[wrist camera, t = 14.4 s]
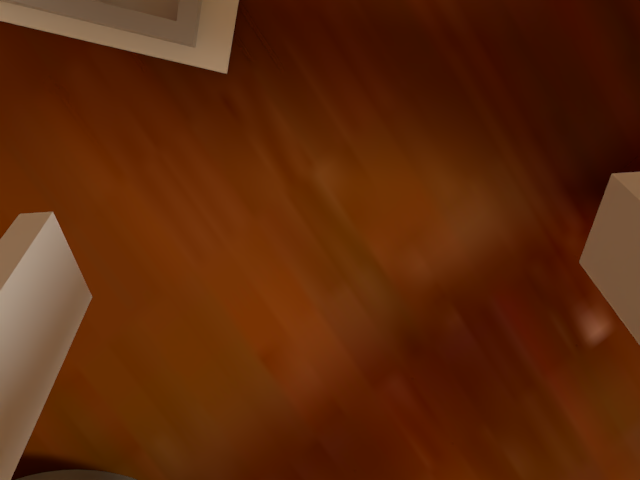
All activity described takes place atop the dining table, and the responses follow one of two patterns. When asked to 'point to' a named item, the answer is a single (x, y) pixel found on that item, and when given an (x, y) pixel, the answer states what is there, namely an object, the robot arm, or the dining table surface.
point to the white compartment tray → (138, 26)
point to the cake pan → (76, 475)
